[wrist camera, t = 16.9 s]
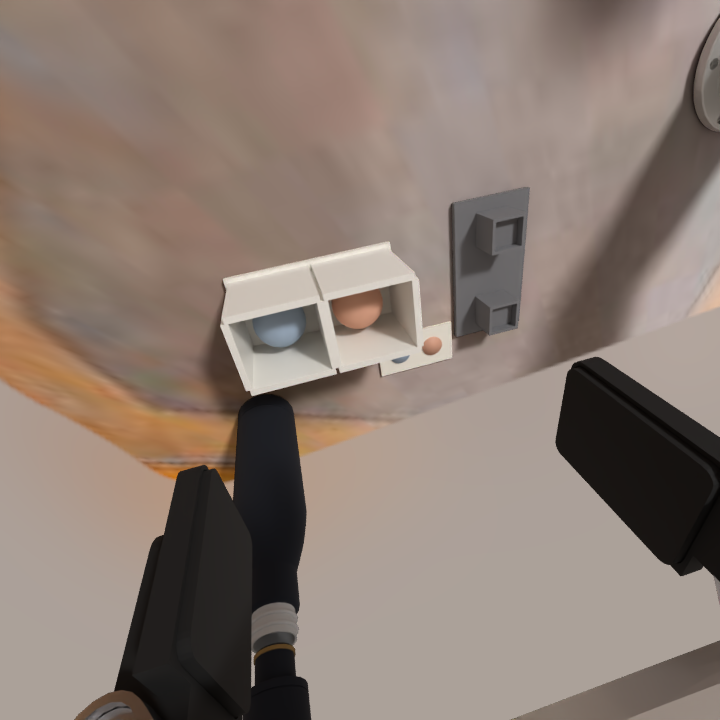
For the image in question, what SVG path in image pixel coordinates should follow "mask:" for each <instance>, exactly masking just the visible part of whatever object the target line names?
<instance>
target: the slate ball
mask: <svg viewBox="0 0 720 720" xmlns="http://www.w3.org/2000/svg"><path fill="white" fill-rule="evenodd" d="M252 323H253V328H254V331H255V333H256V335H257V336H258V337H259V338H260V339H261V340H262V341H263V342H264V343H266V344H268V345H270V346H273V347H287V346H290V345H292V344H294V343H295V342H296V341H298V340H299V339H300V337H301V336H302V334H303V333H304V330H305V327H306V316H305V313H304V310H303V308H302V307H298V308H294V309H290V310H286V311H282V312H277V313H273V314H269V315H265V316H261V317H256V318H252Z"/></svg>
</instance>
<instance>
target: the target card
mask: <svg viewBox="0 0 720 720" xmlns="http://www.w3.org/2000/svg"><path fill="white" fill-rule="evenodd" d="M423 342H424V346H421V352H419V353H416V354H412V355H408V356H404V357H400V358H396V359H393V360H389V361H385V362H381V363H380V369H381V375H382V376H386V375H390V374H393V373H397V372H401V371H405V370H409V369H412V368H416V367H420V366H424V365H428V364H431V363H435V362H439V361H443V360H446V359H450V358H452V331H451V321H448V322H445V323H441V324H437V325H433V326H429V327H425V328H423Z"/></svg>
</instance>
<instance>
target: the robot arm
mask: <svg viewBox="0 0 720 720" xmlns="http://www.w3.org/2000/svg"><path fill="white" fill-rule="evenodd" d="M694 104H695V110H696V113H697V115H698V117H699V120H700V121H701V122H702V123H703V124H704V126H705V127H707V128H709V129H710V130H712V131H717V132H720V18H719V19H718V21H717V22H716V24H715V26H714V28H713V30H712V31H711V33H710V35H709V37H708V39H707V41H706V44H705V46H704V48H703V51H702V53H701V56H700V59H699V63H698V66H697V70H696V75H695V81H694ZM556 447H557V449H558V451H559V453H560V454H561V455H562V456H563V457H564V458H565V459H566V460H567V461H568V462H569V463H570V465H571V466H572V467H573V468H574V469H575V470H576V471H577V472H578V473H579V474H580V475H581V477H582V478H583V479H584V480H585V481H586V482H587V483H588V484H589V485H590V486H591V487H592V488H593V489H594V490H595V492H596V493H597V494H599V496H600V497H601V498H602V499H603V500H604V501H605V502H606V503H607V504H608V506H610V508H611V509H612V510H613V511H614V512H615V513H616V514H617V515H618V516H619V517H620V518H621V520H622V521H623V522H624V523H625V524H626V525H627V526H628V527H629V528H630V529H631V530H632V531H633V532H634V533H635V535H636V536H637V537H638V538H639V539H640V540H641V541H642V542H643V543H644V544H645V545H646V546H647V547H648V548H649V549H650V551H651V552H652V553H653V554H654V555H655V556H656V557H657V558H658V559H659V560H660V561H662V562H663V563H664V564H667V565H671V566H672V568H673V569H674V570H675V571H676V572H677V573H678V574H679V575H680V576H684V575H687V574H689V573H692V572H695V571H698V570H701V569H702V568H703V566H704V567H705V568H706V569H707V570H708V571H709V572H710V573H711V574H712V575H713V576H714V580H715V584H716V589H717V594H718V599H719V603H720V437H718V436H717V435H715V434H714V433H712V432H711V431H709V430H708V429H706V428H705V427H704V426H702V425H701V424H699V423H698V422H696V421H695V420H693V419H692V418H690V417H689V416H687V415H685V414H684V413H683V412H681V411H680V410H678V409H677V408H675V407H673V406H672V405H670V404H669V403H668V402H666V401H665V400H663V399H662V398H660V397H659V396H657V395H656V394H654V393H652V392H651V391H650V390H648V389H647V388H645V387H644V386H642V385H641V384H639V383H638V382H636V381H635V380H633V379H632V378H630V377H629V376H627V375H626V374H624V373H623V372H621V371H620V370H618V369H617V368H615V367H614V366H612V365H611V364H609V363H608V362H606V361H605V360H603V359H602V358H599V357H593V358H590V359H586V360H583V361H579V362H576V363H574V364H573V365H572V368H571V369H570V370H569V371H568V373H567V377H566V383H565V390H564V395H563V400H562V406H561V412H560V418H559V424H558V429H557V435H556ZM251 637H252V540H251V536H250V533H249V531H248V529H247V527H246V525H245V523H244V521H243V519H242V517H241V515H240V514H239V512H238V510H237V508H236V506H235V504H234V502H233V500H232V498H231V496H230V495H229V493H228V491H227V489H226V487H225V485H224V483H223V481H222V479H221V477H220V476H219V474H218V472H217V470H216V469H215V468H214V469H210V470H209V469H208V467H207V466H206V465H202V466H198V467H194V468H191V469H187V470H184V471H180V472H179V473H178V476H177V479H176V484H175V488H174V493H173V497H172V501H171V506H170V510H169V515H168V519H167V523H166V528H165V533H164V535H162V536H159V537H157V538H156V539H155V540H154V541H153V543H152V545H151V548H150V551H149V555H148V559H147V563H146V567H145V571H144V575H143V579H142V583H141V587H140V591H139V595H138V599H137V603H136V607H135V611H134V615H133V619H132V622H131V626H130V630H129V634H128V638H127V642H126V647H125V651H124V655H123V659H122V662H121V666H120V670H119V674H118V678H117V682H116V686H115V690H114V692H111V693H107V694H106V695H104V696H102V697H100V698H98V699H97V700H95V701H93V702H92V703H91V704H90V705H89V706H88V707H86V708H85V709H84V710H83V711H82V712H81V713H79V714H78V716H77V717H76V718H75V719H74V720H242V715H244V714H246V713H248V712H249V710H250V705H251ZM511 720H720V641H717V642H715V643H712V644H709V645H707V646H704V647H701V648H699V649H696V650H693V651H691V652H688V653H685V654H683V655H680V656H677V657H675V658H672V659H669V660H667V661H664V662H661V663H659V664H656V665H653V666H651V667H648V668H645V669H643V670H640V671H637V672H635V673H632V674H629V675H627V676H624V677H622V678H619V679H616V680H614V681H611V682H609V683H606V684H603V685H601V686H598V687H595V688H593V689H590V690H587V691H585V692H582V693H580V694H577V695H574V696H572V697H569V698H566V699H564V700H561V701H558V702H556V703H553V704H551V705H548V706H545V707H543V708H540V709H538V710H535V711H532V712H530V713H527V714H525V715H522V716H519V717H517V718H514V719H511Z"/></svg>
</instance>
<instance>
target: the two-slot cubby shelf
mask: <svg viewBox="0 0 720 720" xmlns="http://www.w3.org/2000/svg"><path fill="white" fill-rule="evenodd" d="M223 282H224V285H225V288H226V296H225V301H224V307H223V312H222V318H221V325H220V327H221V329H222V332H223V334H224V337H225V339H226V342H227V344H228V347H229V349H230V352H231V354H232V357H233V359H234V362H235V364H236V367H237V369H238V372H239V374H240V377H241V379H242V382H243V384H244V387H245V390H246V392H247V391H250V393H251V395H252V396H254V395H258V394H262V393H266V392H270V391H273V390H277V389H281V388H285V387H289V386H293V385H296V384H300V383H304V382H308V381H312V380H316V379H320V378H323V377H327V376H331V375H335V374H337V372H336V368H339V371H340V373H343V372H346V371H350V370H354V369H358V368H362V367H366V366H369V365H373V364H377V363H381V362H385V361H389V360H393V359H396V358H400V357H404V356H408V355H412V354H416V353H419V352H421V346H424V342H423V328H422V314H421V301H420V287H419V278H417V277H416V276H415V272H414V271H412V270H411V269H410V268H409V267H408V266H407V265H406V264H405V263H404V262H403V261H402V260H401V259H399V258H398V257H397V256H396V255H395V254H394V253H393V252H392V251H391V247H390V242H388V241H387V242H383V243H379V244H374V245H370V246H365V247H361V248H356V249H352V250H347V251H343V252H338V253H334V254H330V255H325V256H321V257H316V258H312V259H307V260H303V261H298V262H294V263H289V264H285V265H281V266H276V267H272V268H267V269H263V270H258V271H254V272H249V273H245V274H240V275H236V276H232V277H227V278H223ZM374 289H379V290H380V292H381V295H382V299H383V307H382V311H381V314H380V316H379V317H378V319H377V320H376V321H375V322H374V323H373V324H371V325H370V326H368V327H365V328H362V329H353V328H349V327H346V326H345V325H343V324H342V323H340V322H339V321H338V320H337V318H336V317H335V315H334V313H333V310H332V299H336V298H340V297H345V296H349V295H353V294H357V293H361V292H366V291H370V290H374ZM298 307H302V308H303V310H304V313H305V316H306V327H305V330H304V333H303V334H302V336H301V337H300V339H299V340H298V341H296V342H295V343H294V344H292V345H290V346H287V347H273V346H270V345H268V344H266V343H264V342H263V341H262V340H261V339H260V338H259V337H258V336H257V335H256V333H255V331H254V328H253V323H252V318H256V317H261V316H265V315H269V314H273V313H277V312H282V311H286V310H290V309H294V308H298Z"/></svg>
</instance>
